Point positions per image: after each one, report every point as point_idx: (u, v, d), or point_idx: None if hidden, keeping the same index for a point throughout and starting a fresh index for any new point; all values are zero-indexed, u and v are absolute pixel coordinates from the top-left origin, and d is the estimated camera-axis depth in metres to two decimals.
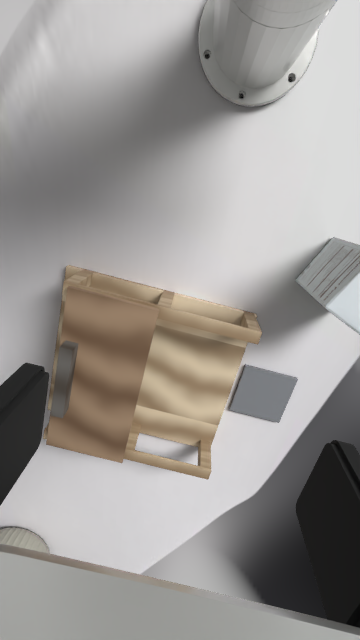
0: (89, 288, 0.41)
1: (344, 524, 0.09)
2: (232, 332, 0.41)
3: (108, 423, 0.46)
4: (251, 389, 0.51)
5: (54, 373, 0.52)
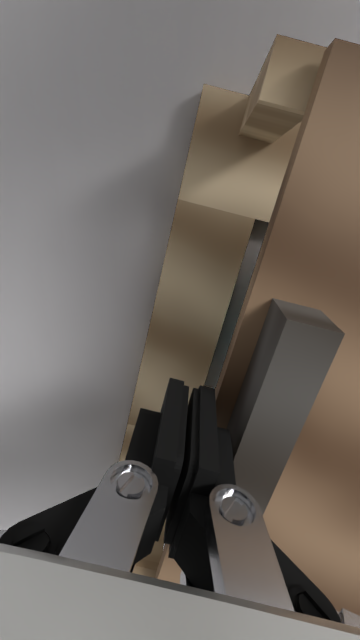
0: None
1: (184, 450, 0.10)
2: None
3: (352, 567, 0.15)
4: None
5: (138, 400, 0.21)
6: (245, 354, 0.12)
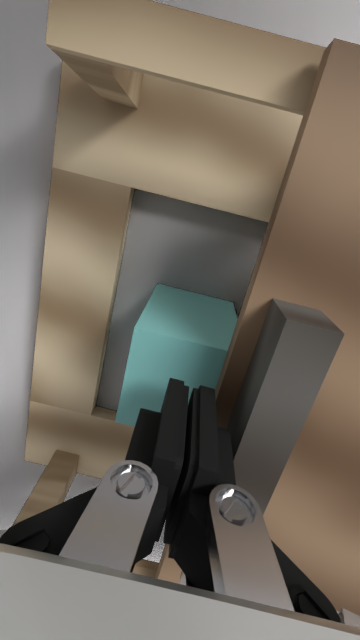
0: (162, 8, 0.09)
1: (184, 450, 0.10)
2: None
3: (353, 567, 0.15)
4: None
5: (37, 376, 0.21)
6: (245, 354, 0.12)
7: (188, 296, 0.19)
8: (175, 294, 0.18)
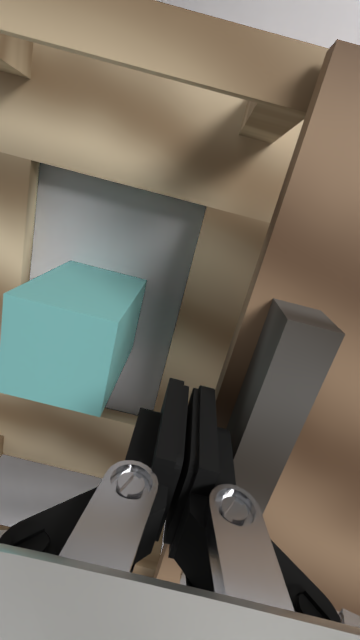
0: None
1: (184, 450, 0.10)
2: None
3: (351, 567, 0.15)
4: None
5: None
6: (245, 354, 0.12)
7: (97, 272, 0.18)
8: (83, 270, 0.18)
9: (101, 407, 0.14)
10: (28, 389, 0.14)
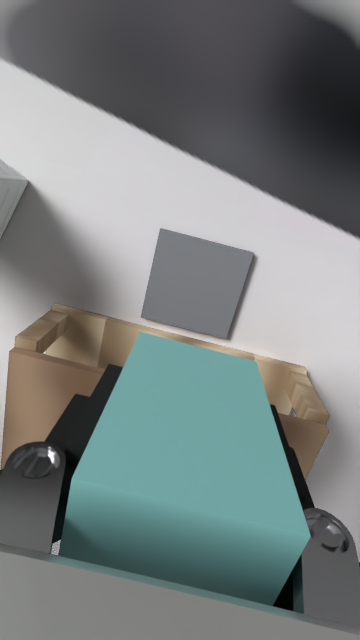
0: None
1: None
2: None
3: None
4: (183, 306, 0.30)
5: None
6: None
7: None
8: None
9: (284, 529, 0.06)
10: None
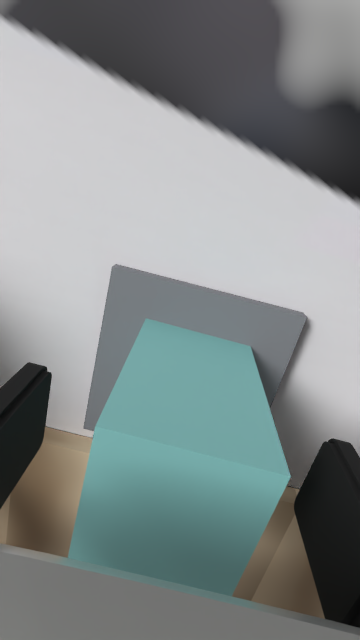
0: None
1: (341, 522, 0.09)
2: None
3: None
4: None
5: None
6: None
7: None
8: None
9: (269, 471, 0.08)
10: (226, 564, 0.09)
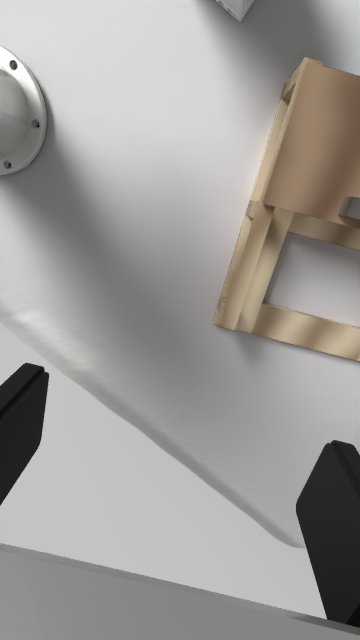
0: (229, 299, 0.35)
1: (344, 524, 0.09)
2: None
3: None
4: None
5: (343, 354, 0.43)
6: (359, 223, 0.31)
7: None
8: None
9: None
10: None
